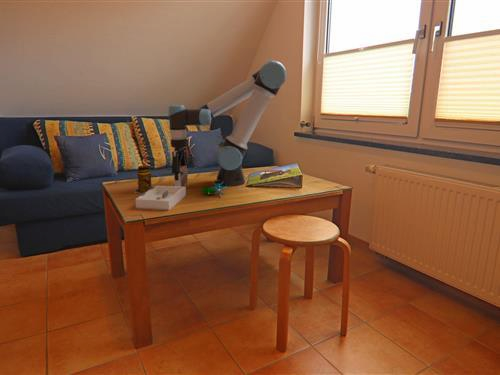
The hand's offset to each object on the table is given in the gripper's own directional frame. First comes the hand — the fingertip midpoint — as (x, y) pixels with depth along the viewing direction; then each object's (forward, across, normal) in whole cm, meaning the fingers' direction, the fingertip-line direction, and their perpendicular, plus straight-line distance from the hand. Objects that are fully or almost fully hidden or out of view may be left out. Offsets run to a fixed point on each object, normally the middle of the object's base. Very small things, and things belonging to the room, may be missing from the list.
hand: (181, 183), depth 170 cm
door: (+1, 0, 0) cm, 1 cm away
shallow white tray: (+2, +21, -2) cm, 21 cm away
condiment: (+2, +7, -17) cm, 18 cm away
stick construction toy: (+3, +8, +18) cm, 20 cm away
